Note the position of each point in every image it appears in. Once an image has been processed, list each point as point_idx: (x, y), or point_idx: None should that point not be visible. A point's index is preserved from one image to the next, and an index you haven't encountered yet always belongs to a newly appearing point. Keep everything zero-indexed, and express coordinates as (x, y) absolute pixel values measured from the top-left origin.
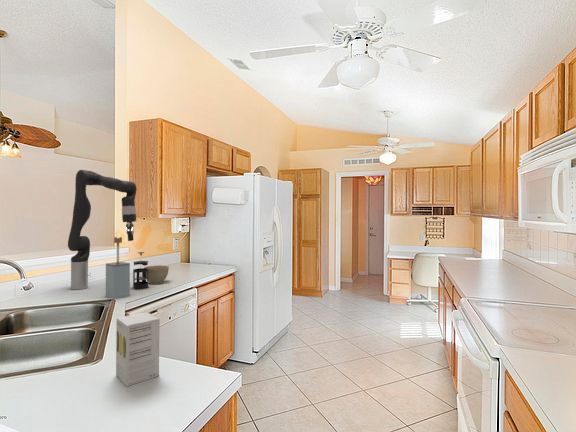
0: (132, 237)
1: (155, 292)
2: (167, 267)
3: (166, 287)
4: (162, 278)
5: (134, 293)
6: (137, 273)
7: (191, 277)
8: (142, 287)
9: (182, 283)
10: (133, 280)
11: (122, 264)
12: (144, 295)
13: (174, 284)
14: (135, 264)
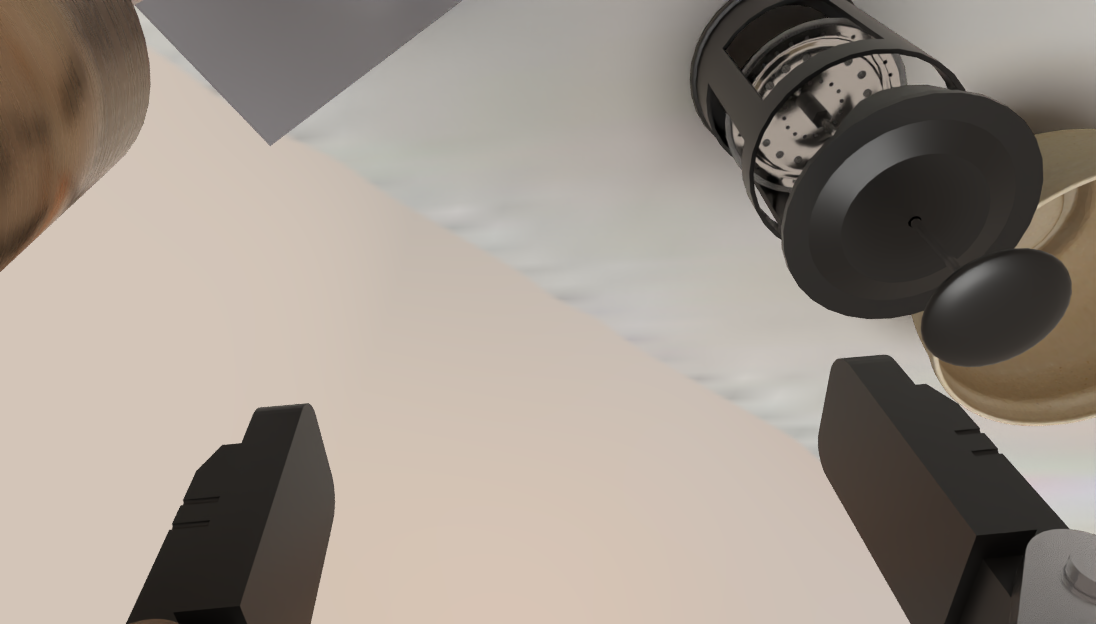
0: (869, 524)
1: (487, 231)
2: (1094, 400)
3: (684, 307)
4: None
5: (496, 33)
6: (751, 108)
7: (1045, 472)
8: (699, 102)
9: (804, 415)
10: (832, 6)
11: (158, 20)
12: (375, 146)
13: (793, 361)
14: (838, 127)
